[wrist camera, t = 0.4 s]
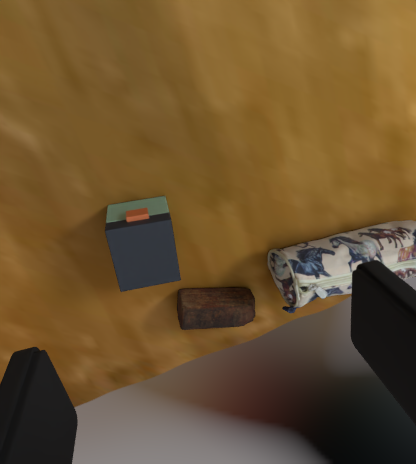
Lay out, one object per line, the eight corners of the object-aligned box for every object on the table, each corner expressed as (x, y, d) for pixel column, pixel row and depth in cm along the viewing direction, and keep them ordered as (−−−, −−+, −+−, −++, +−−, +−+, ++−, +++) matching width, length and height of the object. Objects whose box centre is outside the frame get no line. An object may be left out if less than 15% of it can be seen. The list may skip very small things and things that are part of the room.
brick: (176, 309, 53) (180, 332, 49) (178, 287, 52) (182, 308, 48) (245, 307, 56) (254, 328, 52) (249, 285, 54) (259, 305, 50)
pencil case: (266, 286, 55) (292, 330, 46) (262, 237, 51) (290, 276, 42) (399, 255, 57) (447, 292, 49) (406, 206, 53) (460, 237, 45)
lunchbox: (106, 200, 44) (103, 225, 38) (164, 191, 45) (170, 214, 39) (122, 264, 48) (121, 296, 42) (174, 254, 49) (181, 284, 43)
